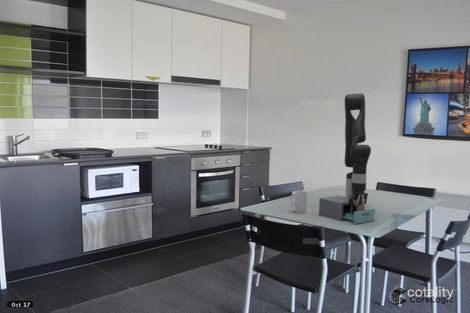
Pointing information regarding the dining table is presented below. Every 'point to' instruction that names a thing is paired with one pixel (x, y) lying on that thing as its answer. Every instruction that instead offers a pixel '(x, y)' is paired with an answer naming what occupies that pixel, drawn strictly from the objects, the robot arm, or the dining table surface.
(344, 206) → the grey drawer box
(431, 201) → the dining table surface
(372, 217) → the teal drawer
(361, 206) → the walnut block
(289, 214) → the dining table surface
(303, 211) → the mug
